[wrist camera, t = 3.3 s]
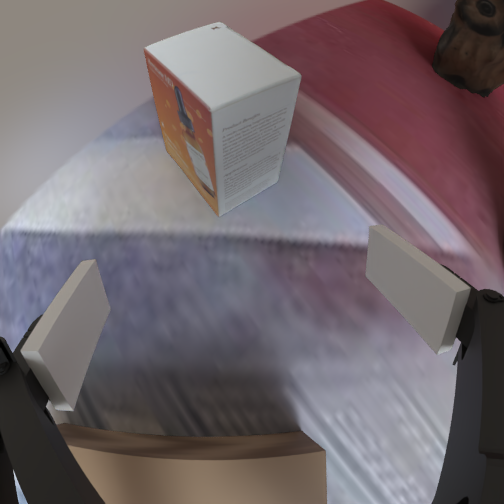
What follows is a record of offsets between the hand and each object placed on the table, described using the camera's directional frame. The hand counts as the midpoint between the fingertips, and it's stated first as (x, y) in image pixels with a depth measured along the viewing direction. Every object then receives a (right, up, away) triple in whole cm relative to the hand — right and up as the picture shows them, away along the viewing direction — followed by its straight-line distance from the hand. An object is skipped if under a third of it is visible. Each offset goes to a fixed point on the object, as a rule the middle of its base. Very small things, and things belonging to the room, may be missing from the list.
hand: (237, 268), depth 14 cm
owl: (+33, +29, +20) cm, 48 cm away
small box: (-2, +7, +10) cm, 13 cm away
